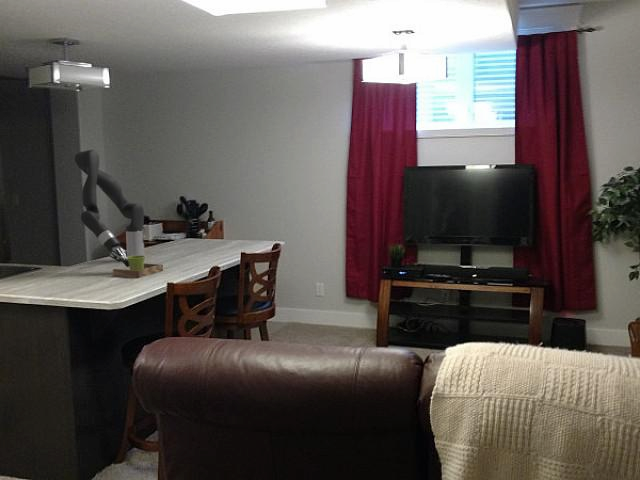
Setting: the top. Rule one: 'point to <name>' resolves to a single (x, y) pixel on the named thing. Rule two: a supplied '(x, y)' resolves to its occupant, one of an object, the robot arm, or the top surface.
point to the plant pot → (136, 262)
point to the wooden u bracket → (139, 271)
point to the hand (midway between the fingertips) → (129, 265)
